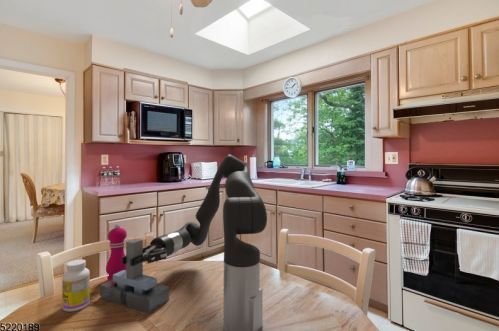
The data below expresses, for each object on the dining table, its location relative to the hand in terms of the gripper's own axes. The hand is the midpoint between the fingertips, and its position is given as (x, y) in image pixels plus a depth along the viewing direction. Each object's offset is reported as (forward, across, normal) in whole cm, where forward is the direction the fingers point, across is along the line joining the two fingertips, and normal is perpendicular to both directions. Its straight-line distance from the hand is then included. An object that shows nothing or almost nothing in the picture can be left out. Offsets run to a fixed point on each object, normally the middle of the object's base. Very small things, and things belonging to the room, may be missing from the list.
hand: (126, 261), depth 77 cm
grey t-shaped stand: (-3, 0, +11) cm, 11 cm away
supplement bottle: (+7, -12, +12) cm, 19 cm away
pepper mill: (-10, -16, +13) cm, 23 cm away
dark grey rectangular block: (-3, 0, +12) cm, 13 cm away
